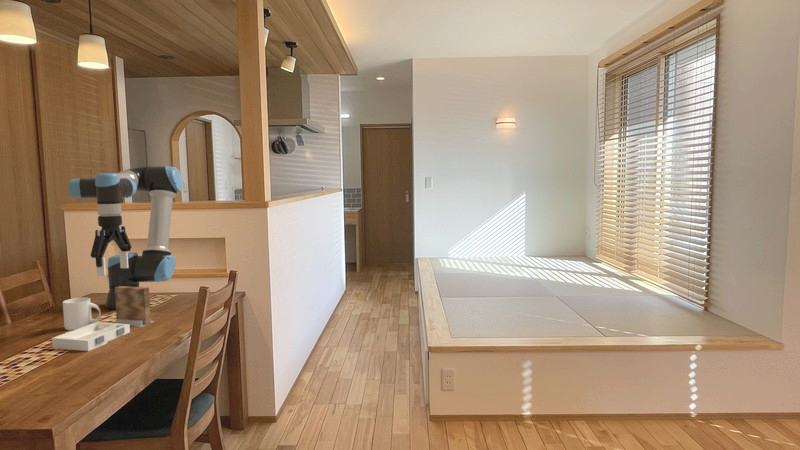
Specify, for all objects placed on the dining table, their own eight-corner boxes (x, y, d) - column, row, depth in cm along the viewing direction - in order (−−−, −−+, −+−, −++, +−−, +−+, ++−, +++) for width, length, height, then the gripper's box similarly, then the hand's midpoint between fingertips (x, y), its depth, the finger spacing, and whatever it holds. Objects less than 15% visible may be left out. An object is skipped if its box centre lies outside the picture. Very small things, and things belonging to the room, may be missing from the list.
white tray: (97, 331, 175) (96, 322, 174) (131, 333, 172) (130, 324, 171) (52, 348, 157) (52, 338, 157) (89, 351, 154) (89, 340, 154)
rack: (126, 320, 188) (125, 314, 187) (154, 322, 185) (154, 316, 185) (112, 326, 181) (112, 320, 181) (141, 328, 178) (141, 321, 178)
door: (150, 322, 183) (148, 287, 182) (145, 325, 180) (143, 289, 179) (121, 321, 185) (119, 286, 184) (116, 323, 183) (114, 287, 181)
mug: (97, 329, 177) (95, 301, 176) (60, 332, 174) (58, 303, 173) (105, 323, 185) (103, 296, 184) (70, 325, 182) (68, 298, 181)
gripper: (120, 212, 186) (123, 265, 189) (75, 218, 162) (80, 278, 164) (139, 212, 186) (142, 265, 188) (97, 218, 161) (101, 279, 164)
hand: (113, 271), depth 176 cm, fingers open, 13 cm apart
